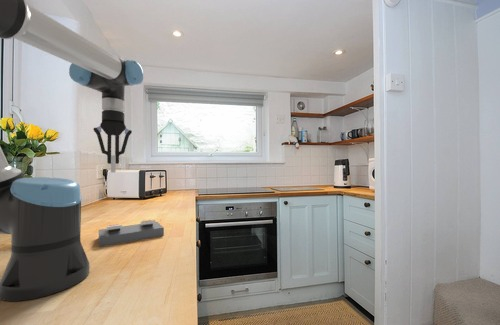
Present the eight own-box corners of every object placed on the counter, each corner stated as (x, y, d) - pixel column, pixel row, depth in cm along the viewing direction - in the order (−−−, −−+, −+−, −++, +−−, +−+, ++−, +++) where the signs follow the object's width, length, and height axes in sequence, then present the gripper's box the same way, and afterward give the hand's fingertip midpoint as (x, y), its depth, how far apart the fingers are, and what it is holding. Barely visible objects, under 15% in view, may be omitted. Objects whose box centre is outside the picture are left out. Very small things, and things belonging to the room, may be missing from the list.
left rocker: (121, 227, 78) (121, 224, 78) (108, 229, 76) (108, 226, 76) (119, 227, 84) (119, 223, 84) (107, 228, 82) (107, 225, 82)
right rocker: (155, 222, 85) (155, 219, 85) (143, 224, 82) (143, 221, 82) (151, 222, 90) (151, 220, 90) (140, 224, 88) (140, 221, 88)
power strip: (163, 235, 84) (163, 225, 84) (99, 247, 73) (99, 235, 73) (156, 228, 93) (156, 219, 93) (98, 238, 82) (98, 227, 82)
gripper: (131, 115, 94) (131, 171, 94) (93, 111, 87) (92, 172, 87) (133, 111, 88) (133, 172, 87) (92, 107, 81) (92, 172, 80)
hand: (113, 172), depth 87 cm, fingers closed
